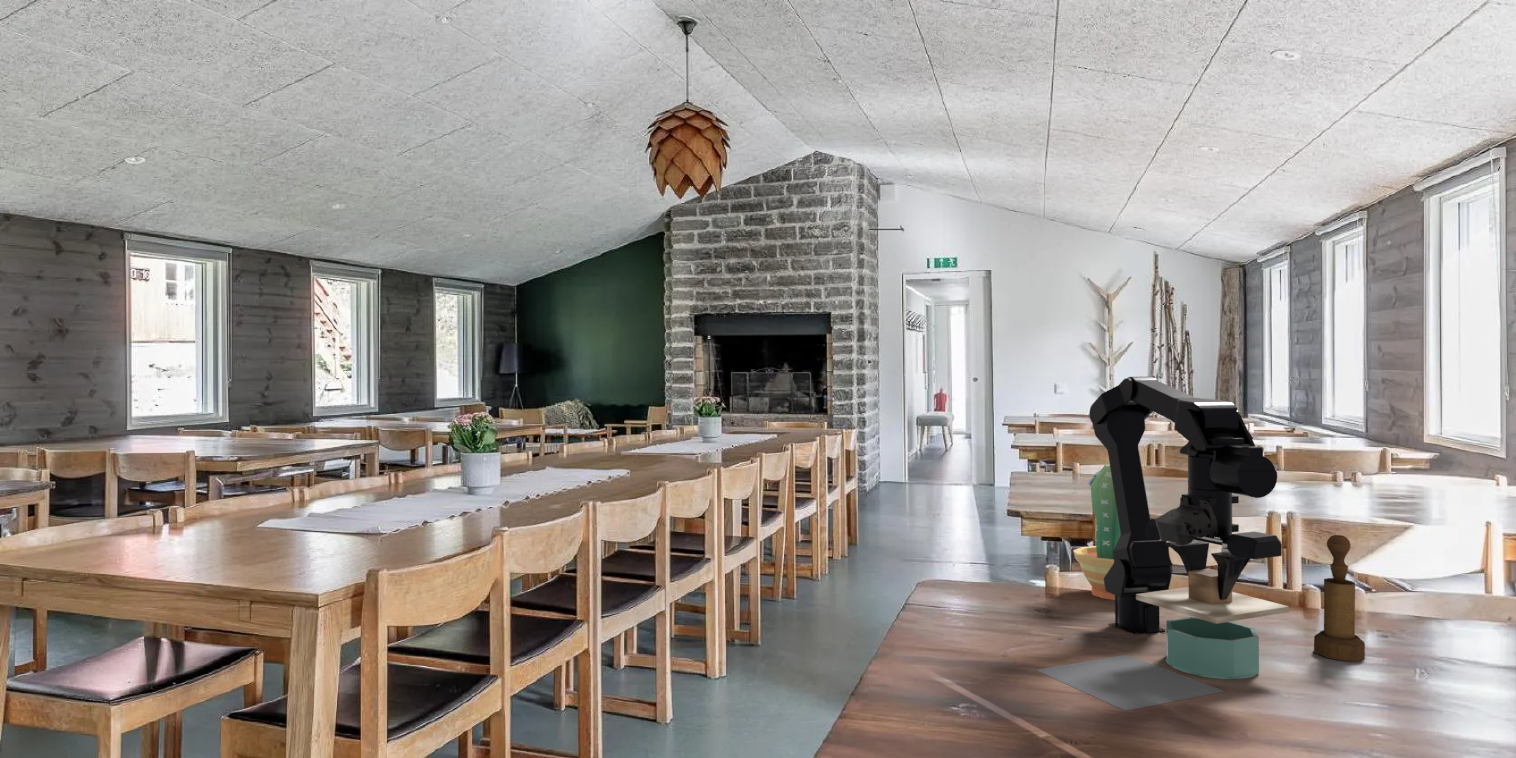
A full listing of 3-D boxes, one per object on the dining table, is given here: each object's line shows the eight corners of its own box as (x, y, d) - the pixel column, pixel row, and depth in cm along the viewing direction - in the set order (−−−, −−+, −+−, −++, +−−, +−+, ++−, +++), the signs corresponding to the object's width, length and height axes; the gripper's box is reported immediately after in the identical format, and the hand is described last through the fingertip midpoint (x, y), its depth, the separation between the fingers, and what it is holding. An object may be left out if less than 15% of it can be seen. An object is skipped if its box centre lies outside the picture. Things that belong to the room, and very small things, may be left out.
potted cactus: (1160, 589, 177) (1159, 462, 177) (1158, 608, 163) (1157, 470, 163) (1077, 582, 184) (1076, 460, 184) (1069, 599, 170) (1068, 467, 170)
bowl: (1147, 663, 133) (1147, 622, 133) (1206, 653, 138) (1206, 613, 138) (1216, 689, 122) (1216, 645, 122) (1278, 677, 127) (1278, 634, 127)
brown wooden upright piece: (1373, 662, 132) (1372, 540, 132) (1324, 660, 133) (1324, 539, 133) (1353, 648, 139) (1352, 532, 139) (1306, 646, 140) (1306, 531, 140)
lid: (1136, 599, 134) (1135, 567, 134) (1205, 589, 139) (1204, 558, 139) (1216, 623, 121) (1216, 588, 121) (1288, 612, 126) (1288, 578, 126)
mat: (1035, 674, 128) (1035, 669, 128) (1126, 658, 135) (1126, 654, 135) (1125, 715, 113) (1125, 710, 113) (1224, 695, 119) (1224, 691, 119)
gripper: (1118, 484, 135) (1118, 587, 136) (1225, 500, 118) (1225, 618, 118) (1173, 480, 140) (1173, 580, 140) (1284, 495, 122) (1284, 609, 123)
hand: (1210, 596), depth 130 cm, fingers closed on lid, 4 cm apart
